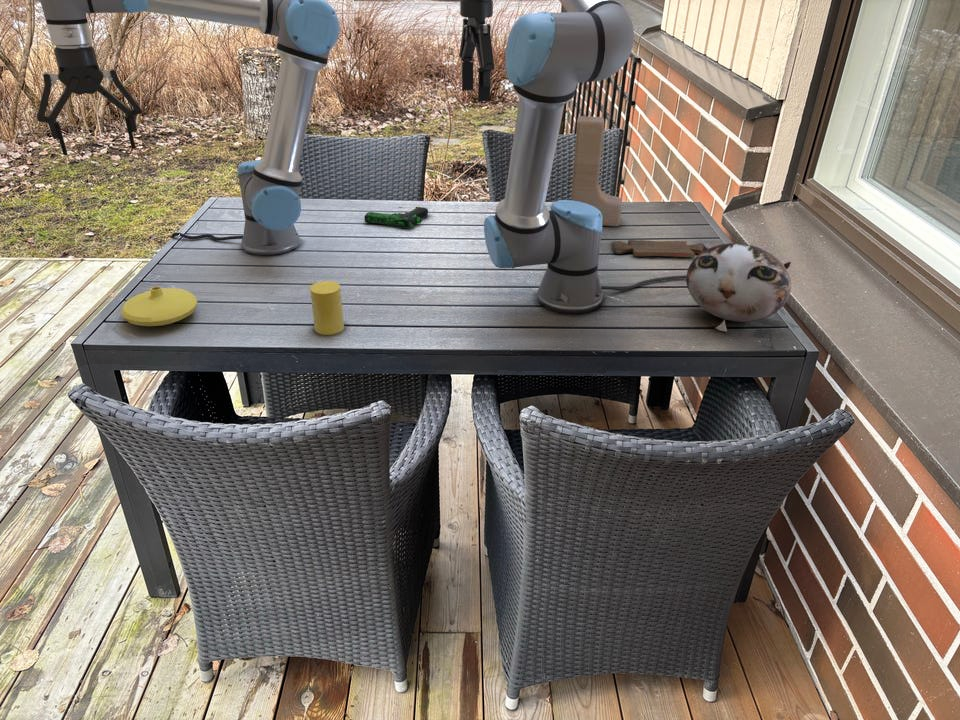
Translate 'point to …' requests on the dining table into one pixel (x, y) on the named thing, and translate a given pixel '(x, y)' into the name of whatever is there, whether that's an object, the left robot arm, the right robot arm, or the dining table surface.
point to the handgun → (398, 218)
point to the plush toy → (738, 282)
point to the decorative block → (592, 171)
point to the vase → (159, 306)
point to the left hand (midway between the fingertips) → (100, 150)
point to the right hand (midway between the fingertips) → (475, 95)
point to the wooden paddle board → (657, 248)
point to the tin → (327, 307)
